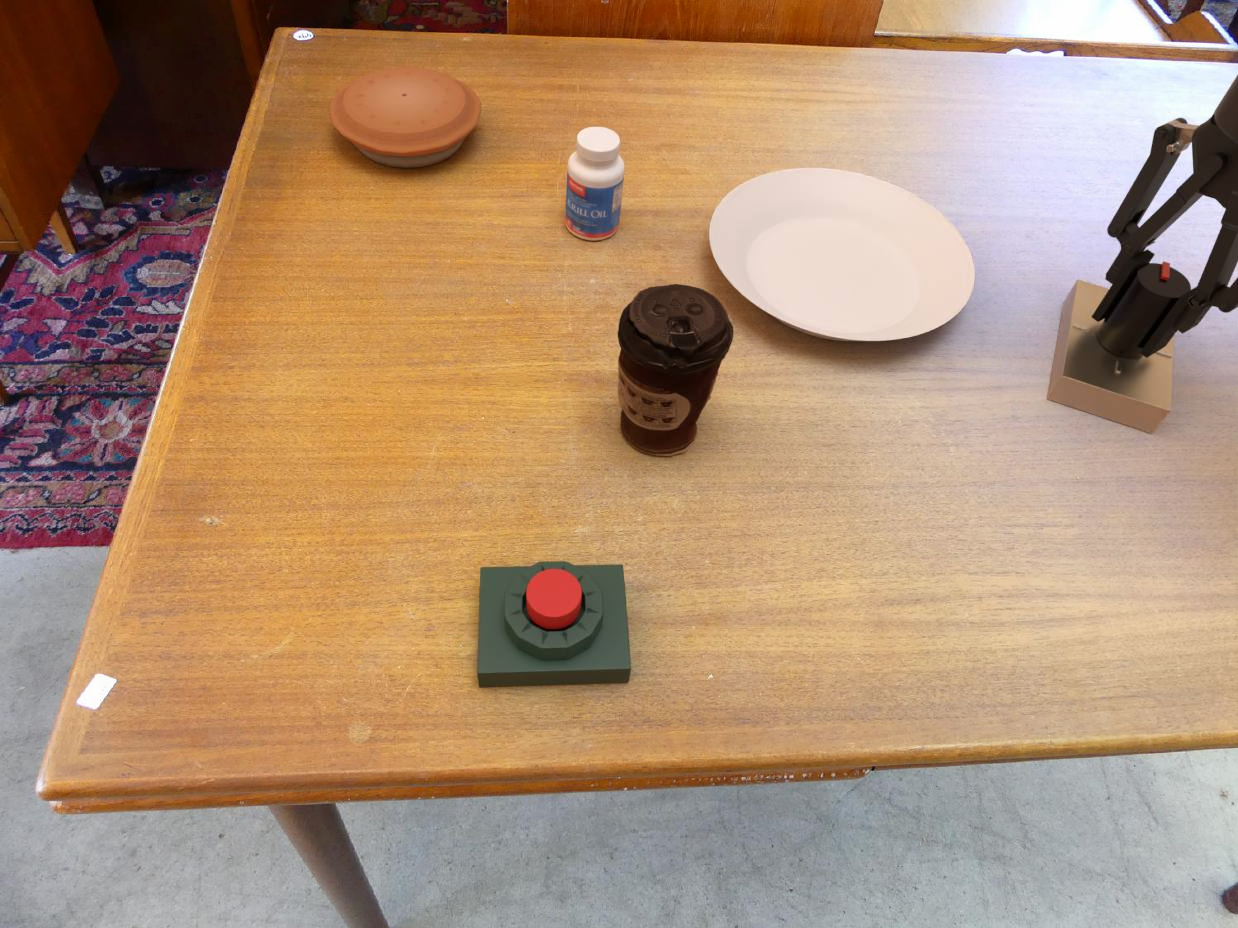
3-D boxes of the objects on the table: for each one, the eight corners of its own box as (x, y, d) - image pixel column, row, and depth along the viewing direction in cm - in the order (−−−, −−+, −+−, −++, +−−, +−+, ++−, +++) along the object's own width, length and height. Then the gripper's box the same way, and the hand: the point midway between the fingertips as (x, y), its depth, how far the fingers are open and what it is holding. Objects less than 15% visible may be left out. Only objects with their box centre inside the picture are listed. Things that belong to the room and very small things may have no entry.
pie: (352, 93, 103) (345, 50, 99) (490, 105, 103) (489, 62, 99) (319, 174, 93) (309, 130, 89) (471, 187, 94) (469, 144, 90)
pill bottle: (556, 234, 90) (558, 146, 82) (575, 203, 93) (579, 116, 86) (609, 248, 89) (616, 161, 82) (626, 216, 92) (634, 130, 85)
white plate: (997, 263, 92) (1011, 234, 89) (898, 412, 78) (912, 384, 76) (778, 168, 99) (785, 139, 97) (654, 289, 86) (658, 259, 83)
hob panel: (1151, 433, 79) (1171, 409, 77) (1046, 399, 81) (1062, 374, 78) (1158, 332, 87) (1177, 307, 85) (1063, 302, 89) (1078, 277, 86)
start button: (579, 581, 62) (580, 567, 61) (582, 629, 60) (583, 616, 58) (526, 582, 62) (526, 568, 60) (526, 630, 59) (526, 617, 58)
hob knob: (1145, 364, 80) (1192, 301, 74) (1094, 348, 81) (1136, 284, 75) (1148, 333, 82) (1193, 269, 77) (1098, 317, 83) (1140, 254, 78)
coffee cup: (675, 488, 72) (698, 373, 62) (586, 441, 74) (594, 323, 64) (726, 419, 77) (755, 302, 66) (641, 377, 79) (657, 258, 69)
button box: (620, 579, 66) (625, 550, 63) (628, 682, 62) (633, 656, 58) (481, 582, 66) (479, 552, 62) (478, 687, 61) (475, 660, 58)
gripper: (1160, 37, 65) (1023, 288, 83) (1399, 165, 57) (1188, 412, 75) (1220, 14, 68) (1074, 261, 86) (1455, 132, 60) (1239, 378, 78)
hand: (1128, 331), depth 81 cm, fingers closed on hob knob, 4 cm apart
